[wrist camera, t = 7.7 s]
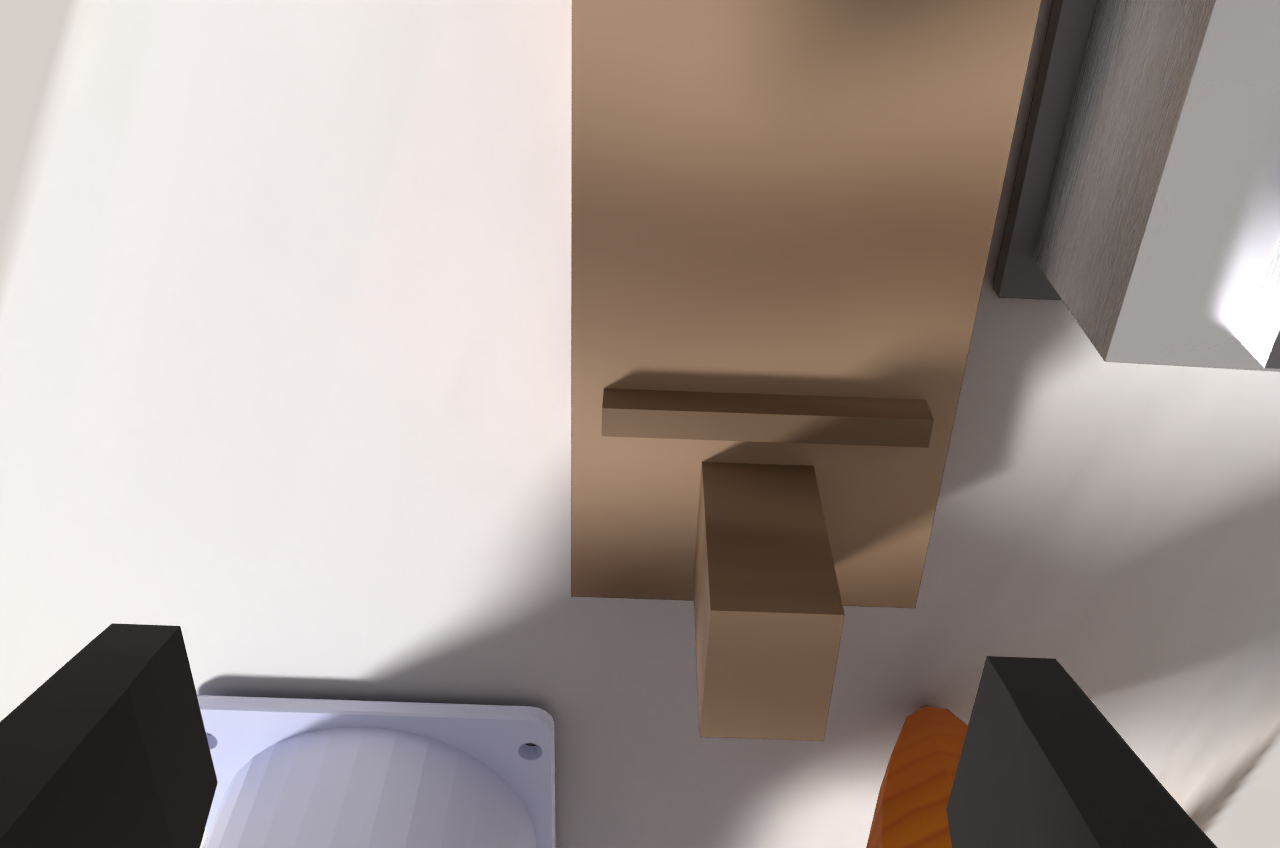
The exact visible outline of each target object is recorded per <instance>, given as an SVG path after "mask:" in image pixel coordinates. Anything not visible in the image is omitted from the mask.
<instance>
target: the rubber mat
mask: <svg viewBox="0 0 1280 848" xmlns="http://www.w3.org/2000/svg"><path fill="white" fill-rule="evenodd" d="M1096 3H1097V0H1054V2H1053V6H1052V11H1051V16H1050V20H1049V25H1048V30H1047V34H1046V39H1045V44H1044V48H1043V53H1042V58H1041V63H1040V67H1039V72H1038V77H1037V81H1036V86H1035V91H1034V95H1033V100H1032V105H1031V110H1030V114H1029V119H1028V124H1027V128H1026V133H1025V138H1024V142H1023V147H1022V152H1021V156H1020V161H1019V166H1018V171H1017V175H1016V180H1015V185H1014V189H1013V194H1012V199H1011V203H1010V208H1009V213H1008V218H1007V222H1006V227H1005V232H1004V236H1003V241H1002V246H1001V250H1000V255H999V260H998V265H997V269H996V274H995V279H994V283H993V289H994V291H995V293H996V294H997V296H998V298H1020V299H1048V300H1062V299H1061V297H1060V296H1059V294H1058V293H1057V292H1056V290H1055V289H1054V287H1053V286H1052V284H1051V283H1050V281H1049V280H1048V279H1047V277H1046V276H1045V274H1044V273H1043V271H1042V270H1041V268H1040V267H1039V265H1038V264H1037V263H1036V261H1035V260H1034V258H1033V257H1032V254H1033V250H1034V247H1035V243H1036V239H1037V235H1038V231H1039V227H1040V223H1041V219H1042V215H1043V211H1044V207H1045V203H1046V199H1047V196H1048V192H1049V188H1050V184H1051V180H1052V176H1053V172H1054V168H1055V164H1056V160H1057V156H1058V152H1059V148H1060V144H1061V141H1062V137H1063V133H1064V129H1065V125H1066V121H1067V117H1068V113H1069V109H1070V105H1071V101H1072V97H1073V93H1074V90H1075V86H1076V82H1077V78H1078V74H1079V70H1080V66H1081V62H1082V58H1083V54H1084V50H1085V46H1086V42H1087V39H1088V35H1089V31H1090V27H1091V23H1092V19H1093V15H1094V11H1095V7H1096Z"/></svg>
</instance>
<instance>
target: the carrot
mask: <svg viewBox="0 0 1280 848" xmlns="http://www.w3.org/2000/svg"><path fill="white" fill-rule="evenodd" d="M967 729H968V726H967V725H966V724H965V723H964V722H962V721H961V720H960V719H959V718H957V717H956V716H955V715H954V714H952V713H951V712H950V711H949V710H947V709H941V708H935V707H928V706H924V707H922V708H920V709H918V710H917V711H915V712H914V713H912V714H911V715H909V716H908V717H907V718H906V720H905V723H904V725H903V728H902V730H901V733H900V735H899V737H898V740H897V742H896V745H895V747H894V750H893V752H892V755H891V758H890V761H889V764H888V767H887V770H886V773H885V776H884V779H883V781H882V784H881V787H880V791H879V796H878V800H877V804H876V809H875V813H874V817H873V821H872V826H871V830H870V834H869V839H868V843H867V847H866V848H952V844H951V838H950V831H949V825H948V818H947V811H946V808H947V805H948V801H949V797H950V793H951V790H952V786H953V782H954V778H955V775H956V771H957V767H958V763H959V760H960V756H961V752H962V748H963V744H964V741H965V737H966V733H967Z"/></svg>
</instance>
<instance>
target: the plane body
mask: <svg viewBox="0 0 1280 848" xmlns="http://www.w3.org/2000/svg"><path fill="white" fill-rule="evenodd" d="M1040 4H1041V0H572V304H571V596H574V597H603V598H633V599H662V600H691V601H694V608H695V632H696V657H697V682H698V706H699V731H700V737H718V738H748V739H778V740H808V741H824V735H825V729H826V723H827V717H828V711H829V705H830V699H831V693H832V687H833V681H834V675H835V669H836V663H837V657H838V651H839V645H840V639H841V633H842V627H843V621H844V610H843V606H867V607H897V608H915V607H916V602H917V597H918V592H919V587H920V583H921V578H922V573H923V568H924V563H925V558H926V554H927V549H928V544H929V539H930V534H931V530H932V525H933V520H934V515H935V510H936V505H937V501H938V496H939V491H940V486H941V481H942V476H943V472H944V467H945V462H946V457H947V452H948V448H949V443H950V438H951V433H952V428H953V423H954V419H955V414H956V409H957V404H958V399H959V395H960V390H961V385H962V380H963V375H964V370H965V366H966V361H967V356H968V351H969V346H970V342H971V337H972V332H973V327H974V322H975V317H976V313H977V308H978V303H979V298H980V293H981V288H982V284H983V279H984V274H985V269H986V264H987V260H988V255H989V250H990V245H991V240H992V235H993V231H994V226H995V221H996V216H997V211H998V207H999V202H1000V197H1001V192H1002V187H1003V182H1004V178H1005V173H1006V168H1007V163H1008V158H1009V154H1010V149H1011V144H1012V139H1013V134H1014V129H1015V125H1016V120H1017V115H1018V110H1019V105H1020V100H1021V96H1022V91H1023V86H1024V81H1025V76H1026V72H1027V67H1028V62H1029V57H1030V52H1031V47H1032V43H1033V38H1034V33H1035V28H1036V23H1037V19H1038V14H1039V9H1040Z"/></svg>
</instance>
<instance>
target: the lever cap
mask: <svg viewBox="0 0 1280 848" xmlns="http://www.w3.org/2000/svg"><path fill="white" fill-rule="evenodd" d="M1032 257H1033V258H1034V260H1035V261H1036V263H1037V264H1038V265H1039V267H1040V268H1041V270H1042V271H1043V273H1044V274H1045V276H1046V277H1047V279H1048V280H1049V281H1050V283H1051V284H1052V286H1053V287H1054V289H1055V290H1056V292H1057V293H1058V294H1059V296H1060V297H1061V299H1062V300H1063V302H1064V303H1065V305H1066V306H1067V307H1068V309H1069V310H1070V312H1071V313H1072V315H1073V316H1074V318H1075V319H1076V320H1077V322H1078V323H1079V325H1080V326H1081V328H1082V329H1083V331H1084V332H1085V333H1086V335H1087V336H1088V338H1089V339H1090V341H1091V342H1092V344H1093V345H1094V347H1095V348H1096V349H1097V351H1098V352H1099V354H1100V355H1101V357H1102V358H1103V360H1104V361H1105V362H1120V363H1137V364H1155V365H1173V366H1190V367H1208V368H1226V369H1244V370H1261V371H1279V372H1280V0H1097V3H1096V7H1095V11H1094V15H1093V19H1092V23H1091V27H1090V31H1089V35H1088V39H1087V42H1086V46H1085V50H1084V54H1083V58H1082V62H1081V66H1080V70H1079V74H1078V78H1077V82H1076V86H1075V90H1074V93H1073V97H1072V101H1071V105H1070V109H1069V113H1068V117H1067V121H1066V125H1065V129H1064V133H1063V137H1062V141H1061V144H1060V148H1059V152H1058V156H1057V160H1056V164H1055V168H1054V172H1053V176H1052V180H1051V184H1050V188H1049V192H1048V196H1047V199H1046V203H1045V207H1044V211H1043V215H1042V219H1041V223H1040V227H1039V231H1038V235H1037V239H1036V243H1035V247H1034V250H1033V254H1032Z"/></svg>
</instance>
